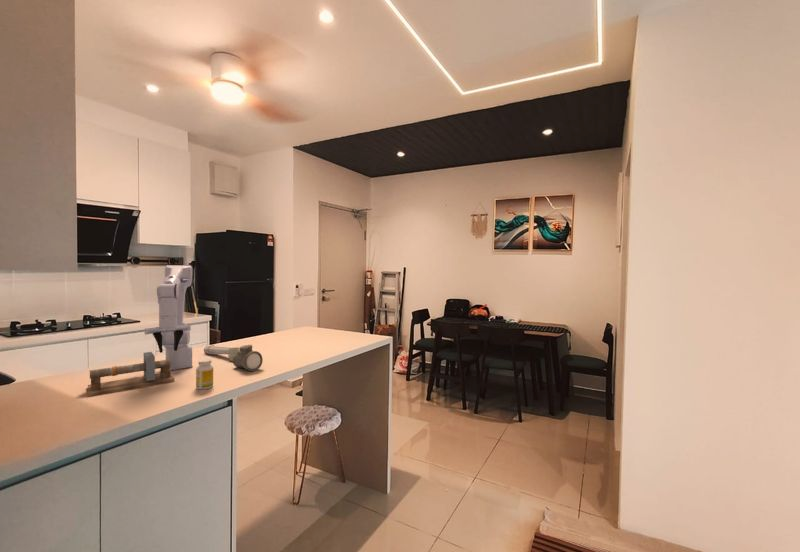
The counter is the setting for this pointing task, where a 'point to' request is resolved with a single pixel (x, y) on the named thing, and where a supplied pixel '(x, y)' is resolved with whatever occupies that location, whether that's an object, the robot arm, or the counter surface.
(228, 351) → the grey handle
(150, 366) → the collar
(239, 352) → the pipe fitting
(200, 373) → the supplement bottle
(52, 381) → the counter surface
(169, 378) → the pipe stand
